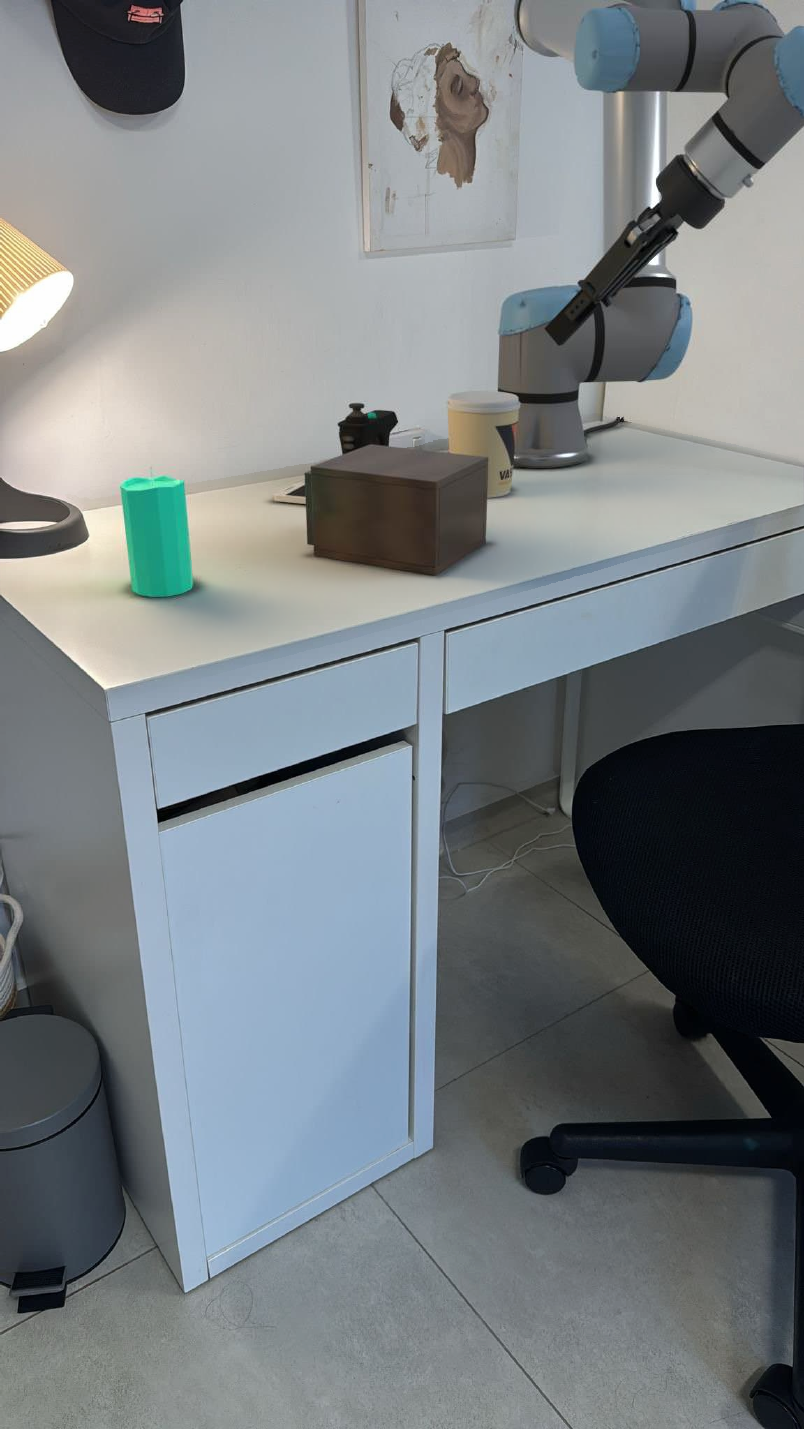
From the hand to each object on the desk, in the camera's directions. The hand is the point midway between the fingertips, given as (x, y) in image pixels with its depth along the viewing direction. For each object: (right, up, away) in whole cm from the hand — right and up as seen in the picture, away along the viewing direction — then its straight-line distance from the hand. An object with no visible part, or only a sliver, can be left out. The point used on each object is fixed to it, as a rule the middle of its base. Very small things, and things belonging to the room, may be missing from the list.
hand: (553, 336), depth 131 cm
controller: (-23, -12, +20) cm, 33 cm away
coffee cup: (-8, -16, +12) cm, 22 cm away
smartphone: (-26, -18, +7) cm, 33 cm away
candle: (-42, -33, -23) cm, 58 cm away
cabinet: (-18, -27, -12) cm, 35 cm away
